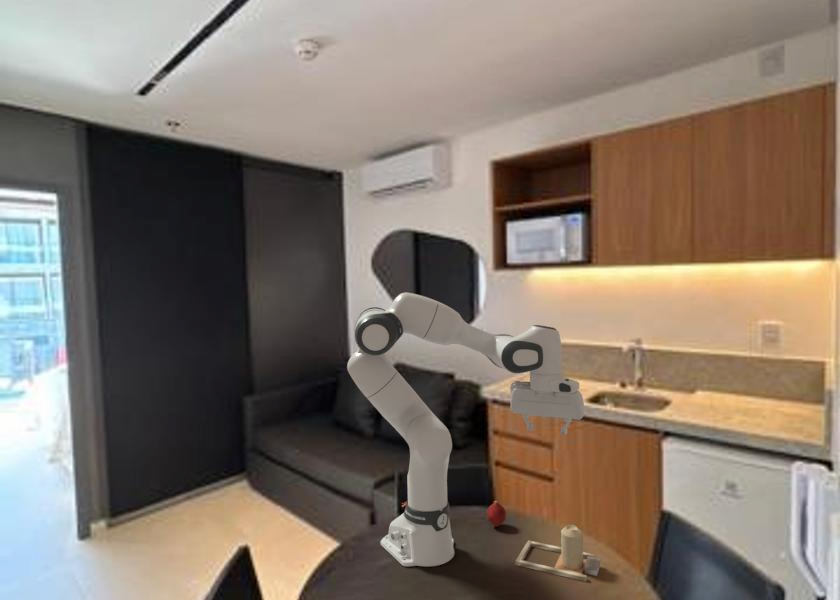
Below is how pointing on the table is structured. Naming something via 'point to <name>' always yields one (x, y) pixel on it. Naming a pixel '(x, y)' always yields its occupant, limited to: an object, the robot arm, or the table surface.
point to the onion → (496, 514)
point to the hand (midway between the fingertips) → (546, 431)
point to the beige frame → (560, 563)
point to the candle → (572, 547)
